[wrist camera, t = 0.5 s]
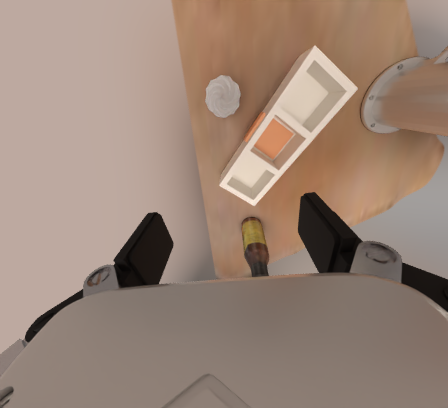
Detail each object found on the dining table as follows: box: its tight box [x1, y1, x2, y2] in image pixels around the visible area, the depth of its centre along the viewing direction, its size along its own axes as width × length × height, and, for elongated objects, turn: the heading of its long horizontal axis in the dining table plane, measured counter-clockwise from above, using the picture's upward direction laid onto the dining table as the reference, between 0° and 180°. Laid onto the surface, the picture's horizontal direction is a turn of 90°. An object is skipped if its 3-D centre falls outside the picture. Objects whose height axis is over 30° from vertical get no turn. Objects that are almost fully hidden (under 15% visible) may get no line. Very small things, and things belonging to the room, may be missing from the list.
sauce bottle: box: [242, 218, 269, 277], centre depth 44 cm, size 7×6×20 cm
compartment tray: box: [219, 46, 358, 206], centre depth 35 cm, size 28×11×7 cm, turn 148°
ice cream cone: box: [205, 75, 241, 118], centre depth 28 cm, size 6×6×15 cm
